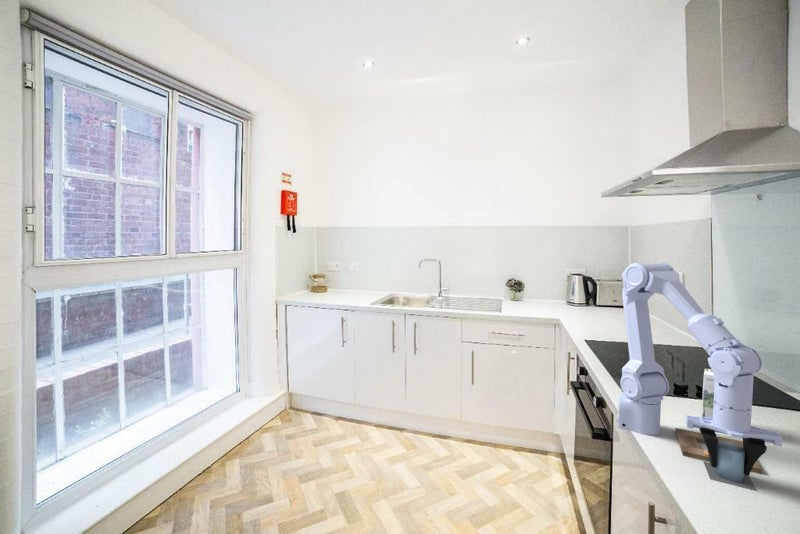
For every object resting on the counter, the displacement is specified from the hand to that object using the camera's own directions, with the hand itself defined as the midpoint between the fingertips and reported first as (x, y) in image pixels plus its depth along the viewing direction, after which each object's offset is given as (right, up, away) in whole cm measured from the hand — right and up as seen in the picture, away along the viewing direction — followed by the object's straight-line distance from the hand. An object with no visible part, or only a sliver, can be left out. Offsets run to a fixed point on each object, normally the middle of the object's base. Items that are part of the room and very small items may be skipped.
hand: (728, 468), depth 74 cm
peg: (0, -1, 0) cm, 1 cm away
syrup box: (+17, -1, +23) cm, 28 cm away
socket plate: (+5, -2, +9) cm, 10 cm away
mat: (0, -2, 0) cm, 2 cm away
